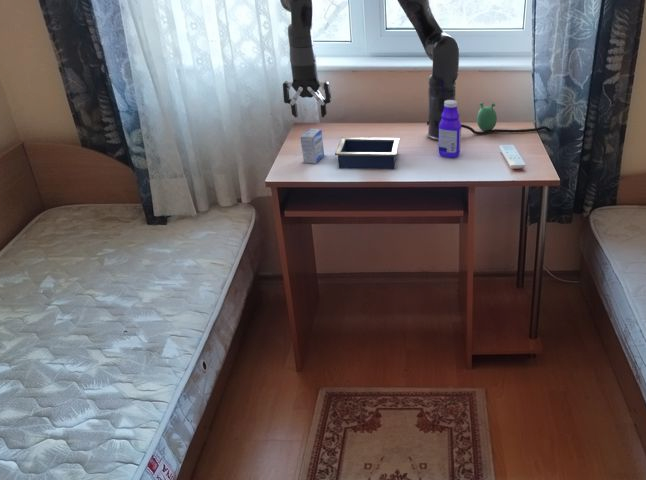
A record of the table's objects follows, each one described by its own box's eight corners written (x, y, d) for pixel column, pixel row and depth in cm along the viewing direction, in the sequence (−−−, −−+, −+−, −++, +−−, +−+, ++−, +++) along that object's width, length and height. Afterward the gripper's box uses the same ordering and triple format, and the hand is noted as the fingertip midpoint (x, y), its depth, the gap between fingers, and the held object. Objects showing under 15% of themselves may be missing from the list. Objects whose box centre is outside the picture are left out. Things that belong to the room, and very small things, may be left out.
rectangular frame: (399, 153, 221) (399, 138, 218) (396, 170, 209) (395, 154, 206) (342, 152, 221) (341, 137, 218) (336, 169, 209) (334, 153, 206)
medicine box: (316, 164, 213) (313, 137, 208) (303, 163, 213) (300, 136, 208) (324, 155, 219) (322, 129, 214) (311, 154, 220) (308, 128, 214)
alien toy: (495, 127, 243) (496, 99, 237) (496, 134, 237) (498, 105, 231) (475, 127, 243) (476, 99, 237) (477, 134, 237) (478, 105, 231)
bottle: (462, 154, 220) (464, 100, 210) (457, 159, 216) (458, 105, 206) (441, 151, 222) (442, 97, 212) (436, 157, 218) (436, 102, 208)
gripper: (329, 58, 201) (334, 113, 211) (282, 58, 202) (289, 113, 211) (325, 64, 195) (330, 120, 205) (276, 64, 196) (284, 120, 205)
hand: (309, 116), depth 208 cm, fingers open, 8 cm apart
